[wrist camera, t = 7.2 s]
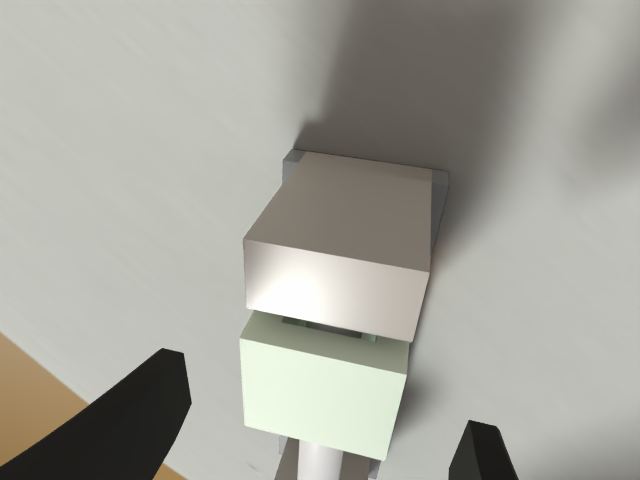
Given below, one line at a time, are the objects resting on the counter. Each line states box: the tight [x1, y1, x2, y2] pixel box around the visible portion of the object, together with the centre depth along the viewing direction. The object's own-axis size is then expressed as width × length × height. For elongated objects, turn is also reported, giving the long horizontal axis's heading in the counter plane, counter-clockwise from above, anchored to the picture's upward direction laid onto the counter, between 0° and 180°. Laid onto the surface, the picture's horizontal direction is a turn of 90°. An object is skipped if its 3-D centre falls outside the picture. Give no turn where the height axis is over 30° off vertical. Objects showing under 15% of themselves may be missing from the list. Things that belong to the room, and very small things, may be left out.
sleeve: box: [239, 310, 409, 461], centre depth 12 cm, size 4×4×4 cm
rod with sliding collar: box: [243, 149, 449, 480], centre depth 15 cm, size 16×5×6 cm, turn 176°
